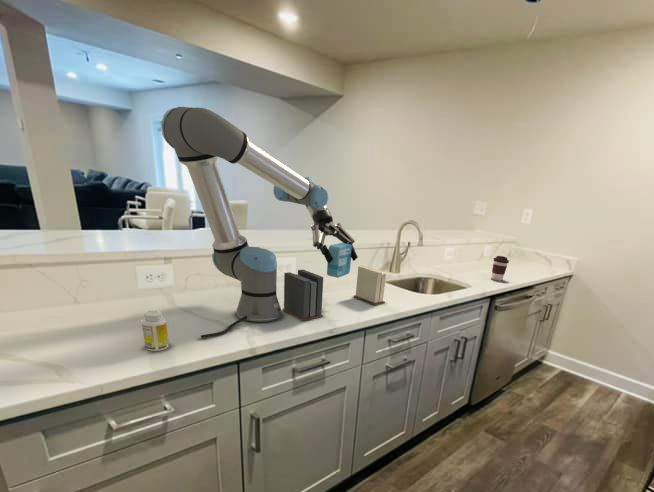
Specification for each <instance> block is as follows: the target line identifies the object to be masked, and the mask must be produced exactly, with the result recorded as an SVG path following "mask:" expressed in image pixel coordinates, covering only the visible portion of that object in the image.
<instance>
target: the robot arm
mask: <svg viewBox="0 0 654 492" xmlns="http://www.w3.org/2000/svg"><path fill="white" fill-rule="evenodd" d="M160 132H161V135H162V137H163V139H164V141H165V142H166V143H167V144H168V145H169V147H170V148H172V149H174V151H175V155H176V157H177V159H178V161H179V163H180V164H182V165H184V166H185V167H186V168H187V171H188V173H189V177H190V178H191V181H192V183H193V186H194V189H195V191H196V194H197V198H198V200H199V202H200V205H201V208H202V210H203V212H204V215H205V217H206V221H207V223H208V226H209V228H210V231H211V233H212V236H213V239H214V240H213V243H212V245H211V246H212V250H213V252H212V255H211V258H212V259H211V260H212V263H213V265H214V267H215V269H217V271H219V272H220V273H221V274H223V275H224V276H227V277H229V278H232V279H235V280H237V281H239V282H240V285H241V286H240V288H241V295H240V298H239V301H238V305H237V307H236V317H237V318H238V320H236V321H234V322H232V323H231V324H229V325H228V326H227V327H226V328H225V329H223V330H220V331H217V332H213V333H206V334H201V335H200V338H201V339H206V338H213V337H218V336H221V335H224V334H226V333H228V332H229V331H230V330H231V329H232V328H234V327H236V326H237V325H238V324H240V323H242V322H244V321H245V322H249V323H269V322H274V321H277V320H280V319H281V318H282V309H281V305H280V302H279V299H278V296H277V278H278V276H277V275H278V273H277V271H278V269H277V268H278V261H277V256H276V254H275V253H274V252H273V251H271V250H269V249H267V248H265V247H264V248H262V247H259V246H250V245H249V243H248V241H247V240H248V239H247V238H246V236H244V235H242V234H241V233H240V230H239V227H238V224H237V221H236V218H235V214H234V212H233V209H232V205H231V202H230V199H229V197H228V193H227V192H226V191H227V190H226V188H225V185H224V181H223V179H222V175H221V174H220V170H219V167H218V164H217V160H218V159H219V158H220V159H222V160H224V161H225V162H226V161H227V162H228V163H230V164H233V165H235V164H239V165H240V166H242V167H243V168H244V169H246V170H248V171H249V172H252V173H253V174H255V175H257V176H258V177H260V178H262V179H263V180H265V181H266V182H268V183H270V184H272V185H273V188H272V189H273V195H274V197H275V199H276V200H278V202H279V201H280V202H287V203H288V202H289V203H293V204H298V205H303V206H305V207H306V210H307V211H308V213H309V215H310V217H311V220H312V221H313V224H311V226H310V228H311V229H310V230H311V231H312V246H313V248H316V249H317V250H320V252H321V254H322V255H323V257H324V258H325V260H326V262H327V264H328V263H330V262H331V261H332V260H333V258H332V256H331V254H330V252H329V250H328V249H329V247H328V246H327V245H326V244H324V243H325V239H326V236H332V237H333V238H336V239H338V241H340V243H345V244H350V245H351V246H352V253H351V261H352V262H355V261H356V260H357V259H358V258H359V256H358V254H357V252H356V249H355V247H354V245H353V244H354V243H355V239H354V238H353V236H351V235H350V233H348V231H346V229H345V228H344V227H343V226H342V224H341V223H340V222H338V223H337V224H335V223H334V218H333V216H332V213H331V211H330V210H329V208H328V205H327V204H328V201H329V192H328V191H327V188H325V187H324V186H321V185H317V184H316V182H315V181H314V179H313V178H312V177H310V176H306V177H304V176H302V175H301V174H299V173H298V172H297V171H295V170H293V169H292V168H290V167H289V166H288V165H286V164H285V163H283V162H282V161H280V160H279V159H277V158H276V157H275V156H273V155H272V154H270V153H268V152H267V151H265V150H264V149H263V148H261V147H260V146H259V145H257V144H256V143H254V142H252V141H251V140H249V137H248V134H247V133H245V132H244V131H243V130H241V129H240V128H239V127H238V126H235V125H234V124H233V123H231V122H230V121H229V120H228V119H225V118H224V117H223V116H221V115H220V114H218V113H216V112H214V111H212V110H210V109H208V108H206V107H205V108H204V107H189V106H188V107H187V106H177V107H172V108H169V109H168V110H167V111H165V112H164V114H163V115H162V117H161V120H160ZM319 231H320V233H319Z"/></svg>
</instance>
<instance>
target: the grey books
mask: <svg viewBox="0 0 654 492" xmlns="http://www.w3.org/2000/svg"><path fill="white" fill-rule="evenodd" d="M283 278H284V279H283V308H282V310H283V311H284V312H286V313H288V314H290V315H292V316H293V317H296V318H298V319H299V320H302V321H304V322H305V321H309V320H314V319H319V318H322V317H323V314H322V312H323V311H322V310H323V295H324V293H323V291H324V276H322V275H319V274H317V273H315V272H314V273H313V272H311V271H309V270H306V269H304V268H303V269H297V273H296V274H295V273H292V272H291V271H289V272H284V274H283Z"/></svg>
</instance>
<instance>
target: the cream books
mask: <svg viewBox="0 0 654 492" xmlns="http://www.w3.org/2000/svg"><path fill="white" fill-rule="evenodd" d="M356 275H357V277H356V288H355V295H353V298H354V299H356V300H359V301H362V302H364V303H368V304H370V305H372V306H378V305H382V304H385V303H386V302H385V300H384V294H385V287H386V278H387V273H386V272H383V271H379V270H377V269H373V268H370V267H367V266H365V265H358V267H357V274H356Z"/></svg>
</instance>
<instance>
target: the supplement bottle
mask: <svg viewBox="0 0 654 492" xmlns="http://www.w3.org/2000/svg"><path fill="white" fill-rule="evenodd" d="M143 316H144V317H143V318H144V319H142V320H141V327H142V334H143V341H144V347H145V349H146V350H147V351H151V352H160V351H164V350H167V349H168V348H169V347H170V343H169V335H168V327H167V320H166V319H165V318H164V317H163V314H162V312H161V311H159V310H148V311H145V312H144V313H143Z"/></svg>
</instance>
